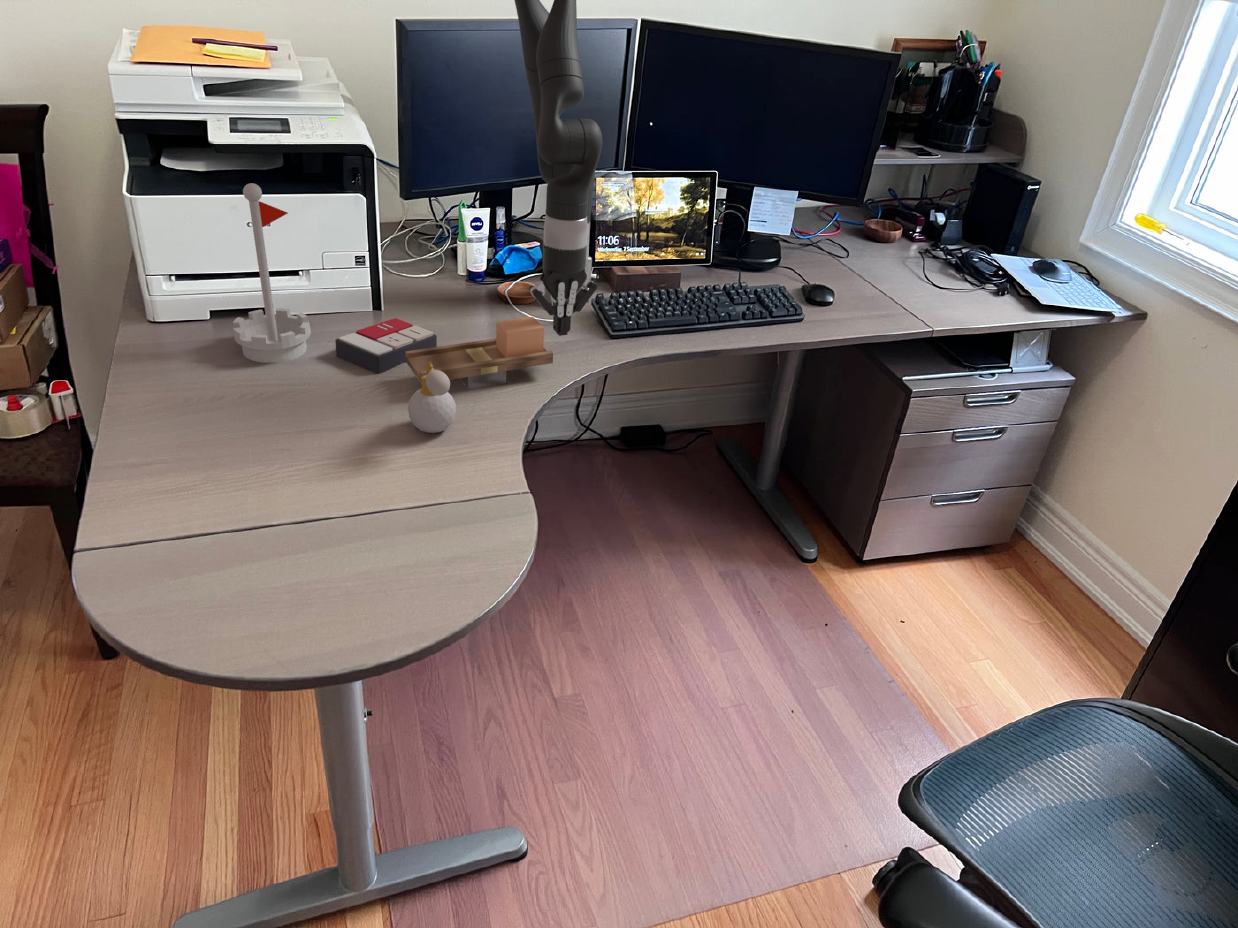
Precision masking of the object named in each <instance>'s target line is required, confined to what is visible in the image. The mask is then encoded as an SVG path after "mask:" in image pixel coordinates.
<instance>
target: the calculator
mask: <svg viewBox="0 0 1238 928" xmlns="http://www.w3.org/2000/svg"><path fill="white" fill-rule="evenodd" d="M437 337H438V336H437V334H435V333H434V332H433V331H431V330H428V329H425V328H423V327H421V326H418V325H413V324H412V323H411V322H408V321H405V320H402V319H399V318H397V317H393V318H390V319H388V320H385V321H381V322H378V323H376V324H372V325H371V326H366V327H364V328H360V329H358V330H356V332H352V333H349V334H346V335H342V336H340V337H338V338H336V339H335V356H336V357H337V358H338V359H341V360H343V361H345V362H348V363H350V364H353V365H354V366H356V367H359V368H362V369H364V370H366V371H369V372H371V373H373V374H377V375H380V374H382V373H385V372H387V371H390V370H391V369H394V368H396V367H397V366H398V365H400V364H403V363H406V355H405V351H412V350H419V349H426V348H433V347H438V346H437V345H438V344H437V343H438V339H437Z"/></svg>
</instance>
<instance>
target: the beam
mask: <svg viewBox="0 0 1238 928" xmlns="http://www.w3.org/2000/svg"><path fill="white" fill-rule="evenodd" d="M405 355H406V362H405V363H406V364H407V366H408V367H409V368H410V370H411V371H412V373H413V374H414V375H415V377H416V378H417V380H418V381H419V382H420V384H421V385H422V377H423V376H425V375H427V371H426V370H427V368H428V364H429V362H431V364H432V365H433V367H432V368H434V370H439V371H442V372H443V373H445V374H446V375H447V376H448V378H449V380H450V381H452V380H458V379H459V380H460V381H461V382H462V383H463V385H464V386H465V387H466V388H467V390H473V389H480V388H484V387H485V388H486V387H490V386H497V385H502V384H503V385H504V384H507V371H513V370H518V369H519V370H520V369H526V368H530V367H531V368H532V367H537V366H543V365H545V366H546V365H550V364H553V361H554V352H553V351H552V350H546V349H545V347H543V352H539V353H533V354H526V355H520V356H513V357H507V358H505V357H504V355H503V354H502V353H501V352H500V351H499V350H498V349H497V348H496V337H495V338H488V339H483V340H482V339H481V340H476V341H469V342H462V343H455V344H449V345H448V344H447V345H441V346H437V347H433V348H426V349H419V350H412V351H405Z"/></svg>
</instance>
